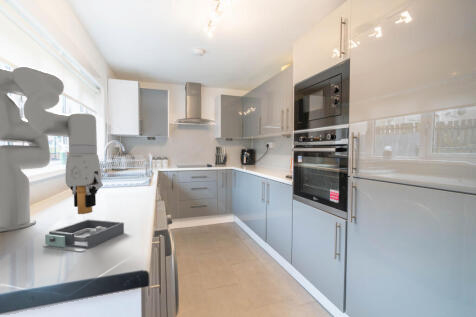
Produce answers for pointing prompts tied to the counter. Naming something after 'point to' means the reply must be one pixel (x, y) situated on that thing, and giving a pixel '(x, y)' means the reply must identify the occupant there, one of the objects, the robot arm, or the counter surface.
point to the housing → (87, 234)
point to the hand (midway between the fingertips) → (85, 205)
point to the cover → (55, 240)
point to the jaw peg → (82, 200)
